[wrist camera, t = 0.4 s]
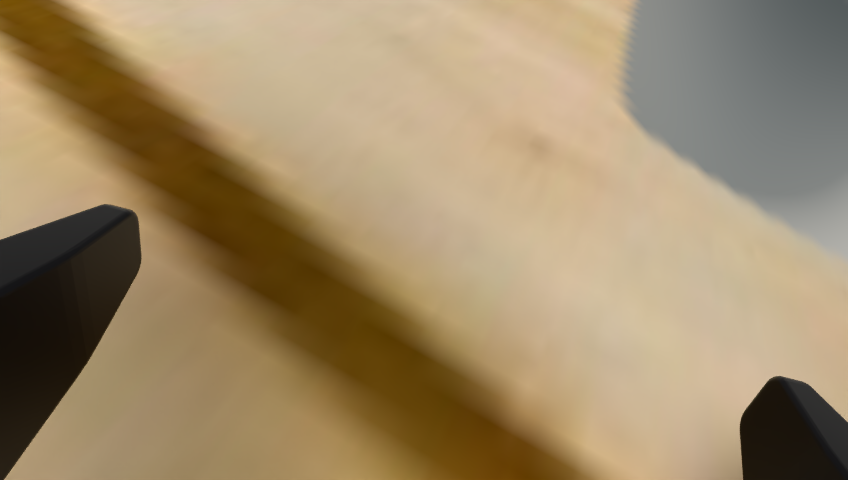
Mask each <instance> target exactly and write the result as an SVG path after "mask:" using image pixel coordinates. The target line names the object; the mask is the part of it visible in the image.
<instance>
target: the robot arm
mask: <svg viewBox="0 0 848 480" xmlns="http://www.w3.org/2000/svg"><path fill="white" fill-rule="evenodd" d="M140 264H141V245H140V233H139V222H138V217H137V215H136V213H135V212H133V211H132V210H129V209H125V208H121V207H118V206H114V205H108V204H104V205H100V206H97V207H94V208H91V209H88V210H85V211H82V212H80V213H77V214H74V215H71V216H68V217H65V218H62V219H59V220H56V221H53V222H51V223H48V224H45V225H42V226H39V227H36V228H33V229H30V230H27V231H24V232H22V233H19V234H16V235H13V236H10V237H7V238H4V239H1V240H0V480H4V479H5V478H6V476H7V475H8V473H9V472H10V471H11V469H12V468H13V466H14V465H15V464H16V462H17V461H18V459H19V458H20V457H21V455H22V454H23V452H24V451H25V450H26V448H27V447H28V445H29V444H30V443H31V441H32V440H33V438H34V437H35V436H36V434H37V433H38V431H39V430H40V429H41V427H42V426H43V424H44V423H45V422H46V420H47V419H48V418H49V416H50V415H51V413H52V412H53V411H54V409H55V408H56V406H57V405H58V404H59V402H60V401H61V399H62V398H63V397H64V395H65V394H66V392H67V391H68V390H69V388H70V387H71V385H72V384H73V383H74V381H75V380H76V378H77V377H78V376H79V374H80V373H81V371H82V370H83V368H84V367H85V365H86V364H87V362H88V361H89V359H90V357H91V356H92V354H93V352H94V351H95V349H96V347H97V345H98V344H99V342H100V340H101V338H102V336H103V335H104V333H105V331H106V329H107V327H108V326H109V324H110V322H111V320H112V318H113V317H114V315H115V313H116V311H117V309H118V308H119V306H120V304H121V302H122V300H123V299H124V297H125V295H126V293H127V291H128V290H129V288H130V286H131V284H132V282H133V281H134V279H135V277H136V275H137V273H138V271H139V268H140ZM740 440H741V455H742V469H743V480H848V422H847V421H846V420H845V419H844V418H843V417H842V416H841V415H840V414H838V413H837V412H836V411H835V410H834V409H833V408H832V407H831V406H830V405H829V404H828V403H827V402H826V401H825V400H824V399H823V398H822V397H821V396H820V395H819V394H818V393H817V392H816V391H815V390H814V389H813V388H812V387H811V386H809V385H808V384H806V383H804V382H802V381H798V380H794V379H790V378H786V377H782V376H775V377H773V378H771V379H769V381H768V382H767V383H766V384H765V385H764V387H763V388H762V389H761V390H760V392H759V393H758V394H757V396H756V397H755V398H754V399H753V401H752V402H751V403H750V405H749V406H748V407H747V408H746V410H745V411H744V413H743V415H742V418H741V422H740Z"/></svg>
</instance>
